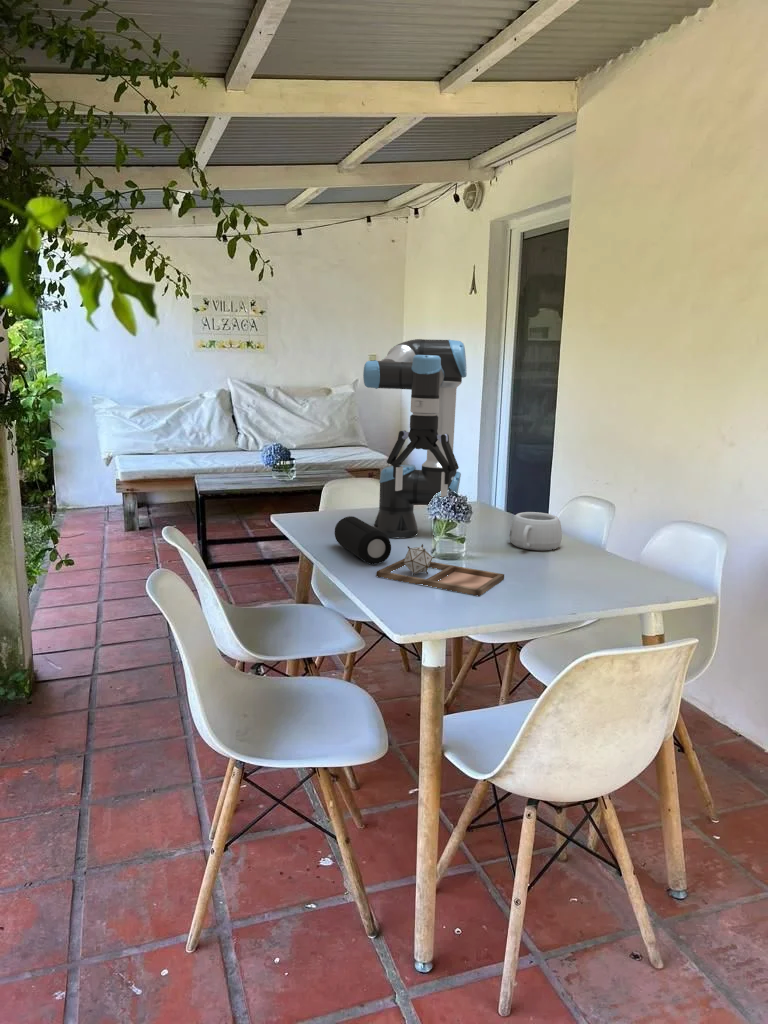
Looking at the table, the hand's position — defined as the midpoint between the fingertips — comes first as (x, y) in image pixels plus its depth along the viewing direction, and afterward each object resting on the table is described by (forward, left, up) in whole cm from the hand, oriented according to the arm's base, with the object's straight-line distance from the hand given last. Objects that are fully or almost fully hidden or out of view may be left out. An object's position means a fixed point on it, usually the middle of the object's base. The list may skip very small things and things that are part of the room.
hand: (420, 493), depth 204 cm
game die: (0, 0, -23) cm, 23 cm away
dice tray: (+7, 0, -23) cm, 24 cm away
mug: (+17, +50, -23) cm, 58 cm away
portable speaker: (-23, +8, -23) cm, 34 cm away
